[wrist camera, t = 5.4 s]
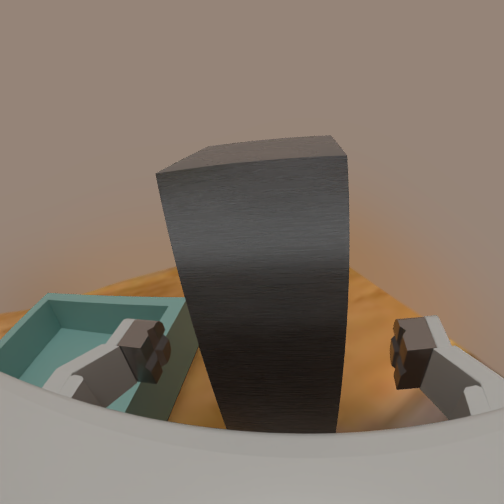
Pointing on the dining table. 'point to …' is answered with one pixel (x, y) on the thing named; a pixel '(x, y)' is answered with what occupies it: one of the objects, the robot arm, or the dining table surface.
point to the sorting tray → (99, 343)
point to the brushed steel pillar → (265, 276)
